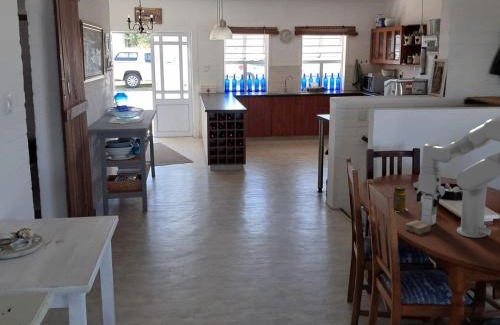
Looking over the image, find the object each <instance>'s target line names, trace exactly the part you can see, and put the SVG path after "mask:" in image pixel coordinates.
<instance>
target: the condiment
mask: <svg viewBox="0 0 500 325" xmlns="http://www.w3.org/2000/svg"><path fill="white" fill-rule="evenodd" d="M406 195H407V194H406V188H405V187H404V186H395V187H394V192H393V198H392V199H393V203H392V208H394V210H395V212H394V213H396V211H402V212H405V211H404V210H405V209H406V211H409V209H408V208H406Z"/></svg>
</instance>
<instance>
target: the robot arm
mask: <svg viewBox="0 0 500 325" xmlns="http://www.w3.org/2000/svg"><path fill="white" fill-rule="evenodd" d="M495 141H497V142H500V116H496V117H493V118H490V119H488V120H486V121H485V122H484V123H482V124H481V125H479V126H477V127H475V128H473V129H471V130H470V131H468V132H467V134H466V135H464V136H462V137H460V138H458V139H457V140H455V141H453V142H451V143H449V144H446V145H442V146H441V145H440V144H438V143H435V142H427V143H424V145H423V147H422V158H421V162H422V163H421V170H420V173H419V176H418V180H417V181H415V182H413V183H412V186H413V188H414V191H415V194H416V202H417V203H420V202H421V196H422V195H423V193H424V194H426V193H429V194H432V195H433V196H434V198H435V199H434V203H433V207H437V208H438V207H440V206H439V205H440V200H441V199H442V197H443V196H444V195H445V193H446V192H445V190H444V189H443V188H442V187H441V186H442V180H441V173H440V172H441V169H440V163H443V164H446V163H447V164H448V163H451V162H452V161H455V160H457V159H458V158H461V157H463V156H465V155H466V154H468V153H470V152H473V151H475V150H479V149H480V148H482V147H484V146H486V145H488V144H491V143H492V142H495ZM498 178H500V151H499V152H496V153H494V154H491V155H488V156H487V157H485V158H482V159H481V160H479V161H478V162H476V163H474V164H472V165H469V166H468V167H466V168H465V169H463V170H460V172H459V173H458V174H457V177H456V184H457V186H458V188H460V189H461V190H463V191H462V200H461V218H460V219H461V220H460V226H458V227H457V228H456V233H457V234H458V235H461V236H463V237H467V238H473V239H474V238H475V239H478V238H484V237H487V236H491V232H492V230H491V229H489V228H487V225H486V224H485V212H486V211H485V210H486V201H487V199H486V198H487V191H488V190H487V189H488V184H489V183H490V182H492V181H495V180H496V179H498ZM436 195H437V196H436Z"/></svg>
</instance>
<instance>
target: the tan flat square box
mask: <svg viewBox="0 0 500 325" xmlns="http://www.w3.org/2000/svg"><path fill="white" fill-rule="evenodd" d="M404 227H405V229H406V230H405V229H404V230H405V231H407V230H409V231H408V232H410V231H412V232H411V233H413V232H414V233H413V234H416V235H420V236H421V235H422V234H425V233H429V232H431V227H432V225H430V224H427V223H424V222H421V221H420V220H418V219H416V220H413V221H410V222H406V223H405V226H404Z"/></svg>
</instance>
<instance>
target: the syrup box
mask: <svg viewBox="0 0 500 325" xmlns="http://www.w3.org/2000/svg"><path fill="white" fill-rule="evenodd" d="M436 196H437V195H436ZM434 199H435V198H434V196H433V195H432V194H429V193H424V194H422V196H421V201H420V209H419V210H420V211H419V212H420V213H419V221H421V222H424V223H427V224H430V225H431V226H433V225H435V224H436V223H437V214H438V213H437V211H438V207H433V203H434Z"/></svg>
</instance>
